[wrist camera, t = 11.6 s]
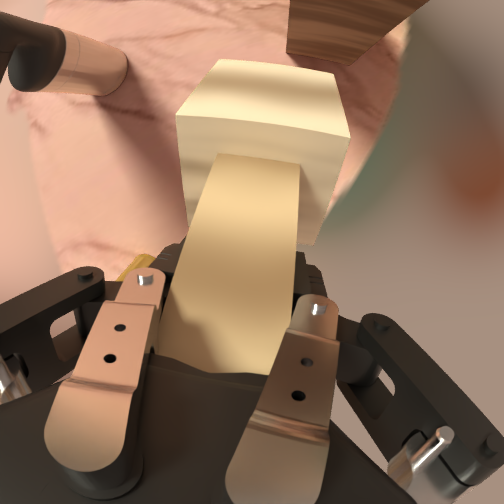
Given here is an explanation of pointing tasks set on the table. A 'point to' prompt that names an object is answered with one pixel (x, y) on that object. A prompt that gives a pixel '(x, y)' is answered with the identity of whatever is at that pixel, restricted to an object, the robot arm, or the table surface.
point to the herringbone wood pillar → (343, 26)
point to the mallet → (249, 208)
